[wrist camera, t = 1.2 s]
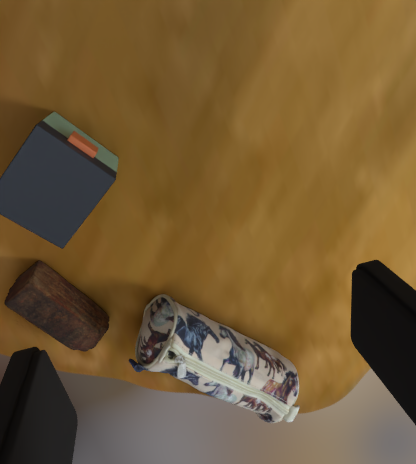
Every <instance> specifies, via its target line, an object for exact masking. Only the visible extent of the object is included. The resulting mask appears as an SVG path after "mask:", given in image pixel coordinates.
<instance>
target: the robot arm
mask: <svg viewBox="0 0 416 464" xmlns="http://www.w3.org/2000/svg"><path fill="white" fill-rule="evenodd" d="M351 339H352V342H353V344H354V346H355V348H356V349H357V350H358V352H359V353H360V354H361V355H362V357H363V358H364V359H365V361H366V362H367V363H368V364H369V366H370V367H371V368H372V369H373V371H374V372H375V373H376V375H377V376H378V377H379V378H380V380H381V381H382V382H383V384H384V385H385V386H386V388H387V389H388V390H389V391H390V393H391V394H392V395H393V396H394V398H395V399H396V400H397V402H398V403H399V404H400V406H401V407H402V408H403V409H404V411H405V412H406V413H407V415H408V416H409V417H410V418H411V420H412V421H413V422H414V423H415V425H416V290H414V289H413V288H412V287H411V286H409V285H408V284H407V283H406V282H405V281H403V280H402V279H401V278H400V277H398V276H397V275H396V274H395V273H394V272H392V271H391V270H390V269H389V268H387V267H386V266H385V265H384V264H383V263H381V262H380V261H378V260H373V261H369V262H365V263H361V264H359V265H357V267H356V270H354V271H353V272H352V301H351ZM76 430H77V414H76V411H75V409H74V407H73V405H72V403H71V401H70V399H69V396H68V394H67V392H66V391H65V388H64V386H63V384H62V382H61V380H60V378H59V376H58V374H57V372H56V370H55V368H54V366H53V364H52V362H51V360H50V358H49V356H48V354H47V352H46V351H45V350H41V351H40V350H39V349H38V348H37V347H32V348H28V349H24V350H20V351H16V352H14V353H13V354H12V356H11V359H10V361H9V364H8V366H7V369H6V371H5V374H4V377H3V379H2V382H1V384H0V464H72V458H73V452H74V444H75V438H76Z"/></svg>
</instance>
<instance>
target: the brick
mask: <svg viewBox="0 0 416 464" xmlns="http://www.w3.org/2000/svg"><path fill="white" fill-rule="evenodd" d="M5 305H6V306H7V307H8V308H10V309H11V310H13V311H15V312H16V313H18V314H19V315H21V316H22V317H24V318H25V319H26V320H28V321H29V322H31V323H32V324H34V325H35V326H37V327H38V328H40V329H41V330H43V331H44V332H46V333H47V334H49V335H50V336H52V337H53V338H55V339H56V340H58V341H59V342H61V343H62V344H64V345H65V346H67V347H69V348H70V349H73V350H81V351H88V350H89V349H92V348H94V347H95V346H96V345H97V343H98V341H99V340H100V339H101V338H102V337H103V335H104V334H105V333H106V331H107V330H108V328H109V323H108V322H109V316H108V315H107V314H106V313H105V312H104V311H103V310H101V309H100V308H99V307H98V306H97V305H96V304H95V303H94V302H93V301H91V300H90V299H89V298H88V297H87V296H85V295H84V294H83V293H82V292H80V291H79V290H78V289H76V288H75V287H74V286H73V285H71V284H70V283H68V282H67V281H66V280H65V279H64V278H63V277H61V276H60V275H59V274H58V273H56V272H55V271H54V270H52V269H51V268H50V267H48V266H47V265H46V264H44V263H43V262H41V261H38V262H36V263H35V264H34V265H33V266H31V267H30V268H29V269H28V270H26V271H25V272H24V273H23V274H22V275H20V276H19V277H18V278H17V279H16V282H15V283H14V285H13V286H12V287H11V288H10V290H9V293H8V296H7V297H6V299H5Z"/></svg>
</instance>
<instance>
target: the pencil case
mask: <svg viewBox="0 0 416 464" xmlns="http://www.w3.org/2000/svg"><path fill="white" fill-rule="evenodd" d="M135 355H136V359H137V361H138V363H136V362H135V361H134V360H133V359H129V362H130V364H131V365H132V366H133V368H134V370H135V371H136V372H141V371H142V370H147V371H151V372H155V371H156V372H162V373H169V374H170V375H172V376H173V377H175V378H177V379H179V380H181V381H184V382H186V383H188V384H189V385H191V386H192V387H194V388H196V389H198V390H199V391H201V392H203V393H206V394H208V395H210V396H213V397H215V398H218V399H221V400H223V401H226V402H229V403H231V404H234V405H237V406H240V407H242V408H245V409H248V410H252V411H254V412H255V413H256V414H257V415H258V416H259V417H260V418H261V419H262V420H264V421H265V422H268V423H275V422H279V421H281V420H282V419H284V420H285V421H287V422H292V421H293V420H294V418H295V417H296V415H297V413H298V410H299V406H298V405H296V406H294V403H295V401H296V399H297V396H298V392H299V378H298V374H297V370H296V368H295V366H294V365H293V364H292V362H291V361H289V360H288V359H286V358H285V357H283V356H282V355H281V354H279V353H278V352H277V351H275V350H273V349H271V348H269V347H267V346H265V345H263V344H261V343H259V342H257V341H255V340H253V339H251V338H249V337H246V336H244V335H242V334H240V333H238V332H237V331H235V330H233V329H231V328H229V327H227V326H225V325H222V324H220V323H217V322H215V321H213V320H210V319H209V318H207V317H206V316H204V315H202V314H200V313H198V312H196V311H193V310H191V309H189V308H187V307H184V306H182V305H180V304H178V303H177V302H176V301H175V300H174V299H173V298H172V297H170V296H168V295H165V294H160V295H158V296H156V297H155V298H154V299H153V300H152V301H151V302H150V303H149V304H147V306H146V308H145V310H144V315H143V322H142V325H141V328H140V331H139V335H138V338H137V342H136V348H135Z"/></svg>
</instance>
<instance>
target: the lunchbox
mask: <svg viewBox="0 0 416 464" xmlns="http://www.w3.org/2000/svg"><path fill="white" fill-rule="evenodd" d="M117 166H118V157H117V156H116V155H114V154H113V153H111V152H110V151H109V150H107V149H106V148H104V147H103V146H102V145H100V144H99V143H98V142H96V141H95V140H93V139H92V138H91V137H89V136H88V135H86V134H85V133H84V132H82V131H81V130H80V129H78V128H77V127H75V126H74V125H73V124H71V123H70V122H68V121H67V120H66V119H64V118H63V117H62V116H60V115H59V114H57V113H56V112H53V113H51V114H50V115H49V116H47V117H46V118H45V119H43V120H42V121H41V122H39V123H38V124H37V125H36V126H35V127H34V129H33V130H32V132H31V133H30V135H29V136H28V138H27V139H26V141H25V142H24V144H23V145H22V147H21V148H20V150H19V151H18V153H17V154H16V156H15V157H14V159H13V160H12V162H11V163H10V165H9V166H8V168H7V169H6V171H5V172H4V173H3V175H2V176H1V178H0V214H1V215H3V216H4V217H6V218H8V219H10V220H11V221H13V222H15V223H17V224H19V225H20V226H22V227H24V228H26V229H27V230H29V231H31V232H33V233H35V234H36V235H38V236H40V237H42V238H44V239H46V240H47V241H49V242H51V243H53V244H55V245H56V246H58V247H60V248H62V249H63V248H64V246H65V245H66V244H67V243H68V241H69V240H70V239H71V237H72V236H73V235H74V233H75V232H76V231H77V230H78V228H79V227H80V226H81V224H82V223H83V222H84V220H85V219H86V218H87V216H88V215H89V214H90V213H91V211H92V210H93V209H94V207H95V206H96V205H97V203H98V202H99V201H100V199H101V198H102V197H103V196H104V194H105V193H106V192H107V190H108V189H109V188H110V186H111V185H112V184H113V183H114V181H115V180H116V173H117Z"/></svg>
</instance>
